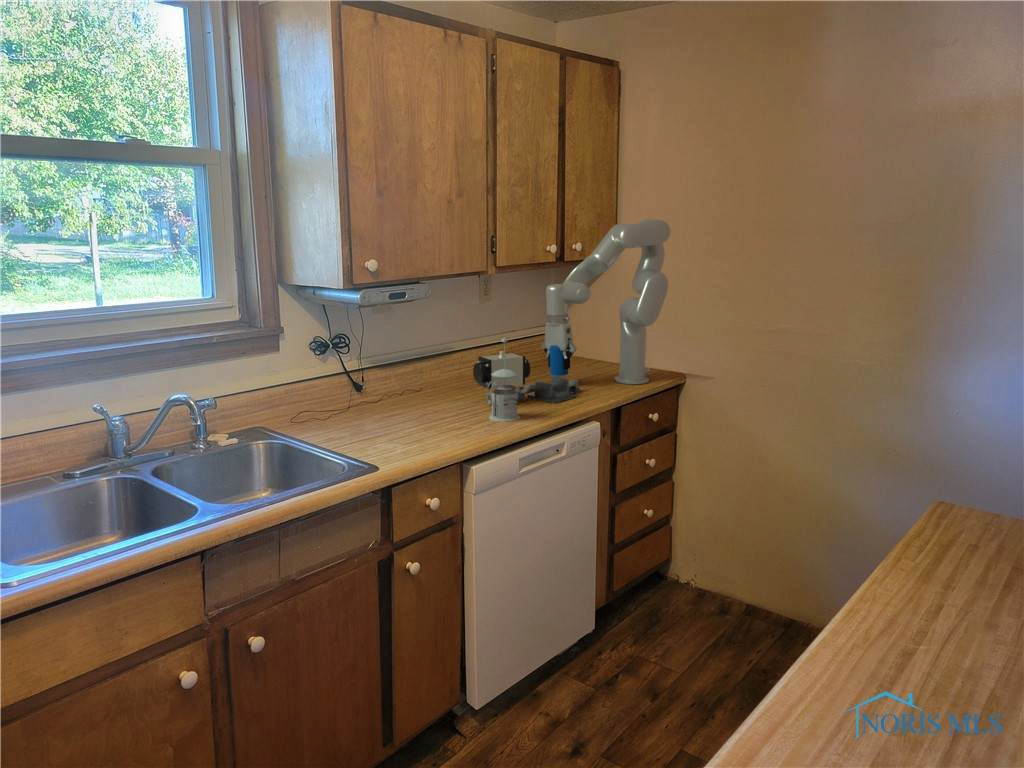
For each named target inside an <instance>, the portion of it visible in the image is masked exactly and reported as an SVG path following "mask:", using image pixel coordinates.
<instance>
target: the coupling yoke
mask: <svg viewBox="0 0 1024 768" xmlns="http://www.w3.org/2000/svg"><path fill="white" fill-rule="evenodd" d="M578 385H579V380H578V379H576V378H572V379H568V378H567V379H565V378H562V377H553V376H551V383H550V382H545V381H540V380H535V382H534V384H533V383H532V384H528V385H527V384H525V385H521V386H519V387H516V389H515V391H517V399H516V400H517V402H519V401H520V402H521V401H522V402H524V401H523V400H525V401H526V398H527V399H532V400H535V399H536V400H537V401H540V400H541V401H540V402H544V401H546V402H545V403H549V402H551V403H550V404H553V403H555V404H557V403H556V402H558V403H561V402H560V401H562V402H564V401H563V400H566V401H568V400H567V399H569V400H571V399H570V398H573V399H575V398H574V397H576V398H577V394H579V393H578V392H581V388H580V387H578ZM570 392H573V393H570ZM575 393H576V394H575ZM526 396H527V397H526ZM536 400H535V401H536Z"/></svg>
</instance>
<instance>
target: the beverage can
mask: <svg viewBox="0 0 1024 768" xmlns="http://www.w3.org/2000/svg"><path fill="white" fill-rule="evenodd" d="M566 353H567V351H566ZM563 359H564V355H563V352H562V351H561V350H560V348H559V347H558V345H552V344H551V346H550V367H549V369H550V370H549V371H550V373H549V374H550V375H551V377H556V378H564V377H567V376H568V374H569V369H566V370H565V369H563Z"/></svg>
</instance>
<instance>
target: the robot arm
mask: <svg viewBox="0 0 1024 768" xmlns="http://www.w3.org/2000/svg"><path fill="white" fill-rule="evenodd" d="M670 236H671V227H670V225H669V224H668V223H667V222H666V221H665V220H663V219H648V218H647V219H641V220H640V221H639V222H637V223H618V224H617V223H616V224H615V225H612V227H611V228H610V229H609V230H608V232H607V233H606V234H605V235H604V237H603V238H602V240H601V241H600V242H599V244H598V245H597V246H596V247H595V248H594V250H593V251H592V252H591V254H590V255H588V256H587V257H586V258H585V259H583V261H581V262H580V263H579V264H578V265H576V267H574V269H572V271H571V272H570V273H569V275H568V276H567V277H566V279H564V282H563V283H554V284H549V285H547V286H546V288H545V297H546V298H545V299H546V300H545V301H546V323H545V329H544V340H543V342H542V343H541V344H540V346H541V348H542V350H543V351H544V353H545V355H546V357H547V367H548V368H550V346H551V344H552V345H558V347H559V348H560V350H561V351H562V352H563V355H564V359H563V369H565V370H566V369H568V370H569V369H571V358H572V356H573V355H574V353H575V352H576V351H577V347H576V346H575V344H574V339H573V338H574V337H573V330H572V326H571V325H572V324H571V323H570V322H569V321H571V317H570V316H569V311H568V309H569V307H568V306H569V305H568V304H570V305H571V304H572V305H582V304H584V303H587V302H588V301H589V300H590V298H591V295H592V294H591V290H590V287H589V286H588V285H587V283H588V284H589V282H590V281H591V280H592V279H594V277H597V276H598V275H601V274H603V273H605V272H607V271H609V270H610V269H611V268H612V267H613V265H614V264H615V263H616V261H617V260H618V259H619V258H620V256H621V255H622V253H624V251H625V249H639V248H640V250H641V254H640V259H639V262H638V264H637V268H636V269H635V273H634V275H633V278H632V282H631V287H632V290H633V291H634V292H635V293H637V294H639V297H637V296H631V297H627V298H625V299H624V300H623V301H622V302H621V304H620V306H619V309H618V310H619V311H618V312H619V313H618V314H619V316H618V317H619V322H620V340H619V341H620V344H619V345H620V346H619V370H618V371H619V373H618V374H619V375H617V376H615V377H614V380H615V382H617V383H620V384H624V385H625V384H626V385H642V384H647V383H649V381H650V379H649V377H647V376H646V374H649V373H651V369H650V368H649V367H647V368H646V349H647V327H650V326H651V325H653V324H654V323H655V322H656V321H657V319H658V318H659V315H660V313H661V310H662V308H663V304H664V302H665V299H666V296H667V294H668V291H669V281H668V280H669V279H668V277H667V276H666V274H664V272H662V271H661V270H662V268H663V264H664V261H665V255H666V253H665V252H666V251H665V246H664V243H666V242H667V241H668V239H669V238H670ZM566 351H567V353H566Z"/></svg>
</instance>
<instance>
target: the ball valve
mask: <svg viewBox="0 0 1024 768" xmlns="http://www.w3.org/2000/svg"><path fill="white" fill-rule="evenodd" d="M501 369H504V350H501V351H499V354H492V355H491V354H490V355H484V356H483V355H482V356H478V361H477V362H476V363H475V364H474V365H473V368H472V373H473V379H474V381H475V383H477V384H478V385H479V386H480V387H483V388H485V389H487V387H488V385H489V383H490V382H491V381H492V380H493V381H494V384H495V385H493V381H492V382H491V383H490V385H489V387H488V390H491V387H492V385H493V387H494V386H496V385H504V378H495V377H492V375H491V374H492V373H494V372H495V371H497V370H501ZM505 369H509V370H512V371H514V372H516V373H517V374H518V375H517V376H516V377H513V378H505V385H513V386H515V387H517V386H526V381H527V378H529V377H530V375H531V364H530V361H529V360H528V359H527V357H526V356H525V355H522V354H519V353H515V352H512V353H505ZM496 381H497V382H498V384H497V382H496ZM495 382H496V383H495ZM493 387H492V390H491V398H492V391H494V389H493ZM487 395H488V399H489V401H490V402H491V403H490V402H489V401H488V399H487V398H486V400H487V403H488V404H489V405H492V401H491V398H490V392H487ZM495 396H496V394H495ZM495 400H496V398H495ZM505 401H508V400H504V402H505ZM495 404H496V402H495Z"/></svg>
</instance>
